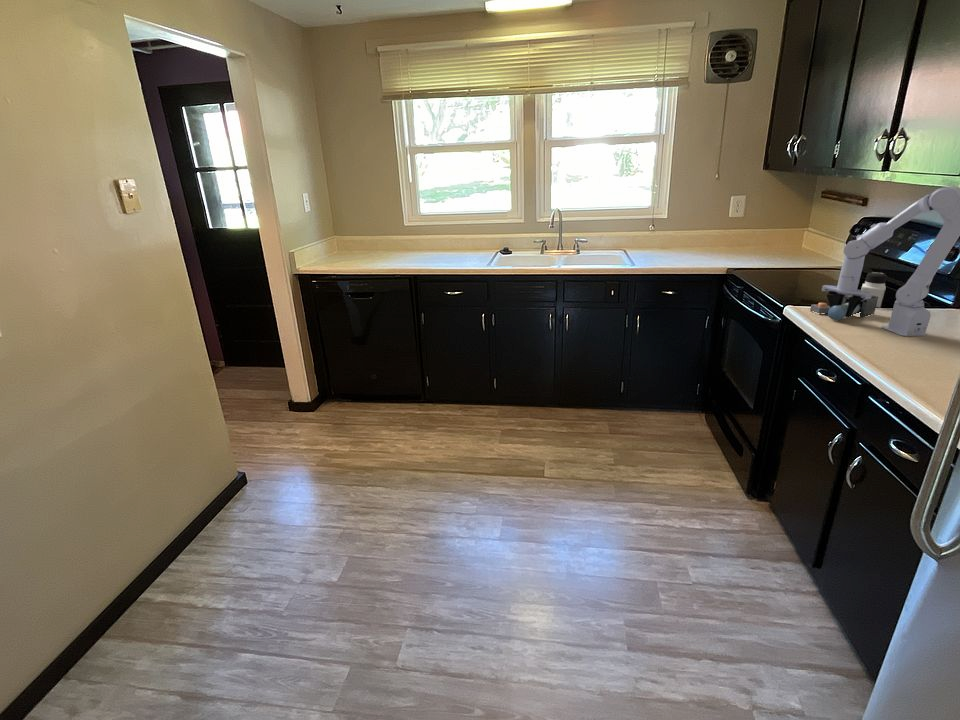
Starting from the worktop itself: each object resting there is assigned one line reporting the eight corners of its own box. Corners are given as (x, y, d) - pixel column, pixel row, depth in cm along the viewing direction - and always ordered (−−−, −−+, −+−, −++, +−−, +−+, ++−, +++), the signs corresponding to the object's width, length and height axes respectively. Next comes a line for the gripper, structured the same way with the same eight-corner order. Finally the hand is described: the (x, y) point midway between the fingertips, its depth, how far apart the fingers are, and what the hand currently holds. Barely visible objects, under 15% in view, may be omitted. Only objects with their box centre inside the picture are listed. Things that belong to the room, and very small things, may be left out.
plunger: (826, 312, 184) (828, 304, 183) (819, 312, 184) (821, 304, 183) (822, 310, 186) (823, 302, 185) (815, 310, 186) (816, 302, 185)
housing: (850, 309, 188) (855, 292, 186) (873, 314, 182) (878, 296, 180) (839, 313, 184) (843, 296, 182) (862, 318, 178) (867, 300, 176)
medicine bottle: (880, 308, 190) (889, 276, 185) (857, 305, 194) (865, 273, 190) (881, 303, 195) (889, 272, 191) (858, 301, 199) (866, 270, 195)
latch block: (831, 314, 183) (833, 307, 182) (818, 314, 183) (820, 308, 182) (822, 310, 188) (824, 304, 187) (809, 310, 188) (811, 304, 187)
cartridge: (848, 311, 184) (851, 298, 183) (863, 314, 180) (867, 300, 179) (826, 318, 177) (829, 304, 175) (842, 321, 173) (845, 307, 171)
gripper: (880, 278, 168) (869, 318, 172) (832, 271, 179) (823, 308, 184) (870, 281, 164) (859, 321, 169) (822, 273, 176) (813, 311, 181)
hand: (840, 315), depth 176 cm, fingers closed on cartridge, 4 cm apart
